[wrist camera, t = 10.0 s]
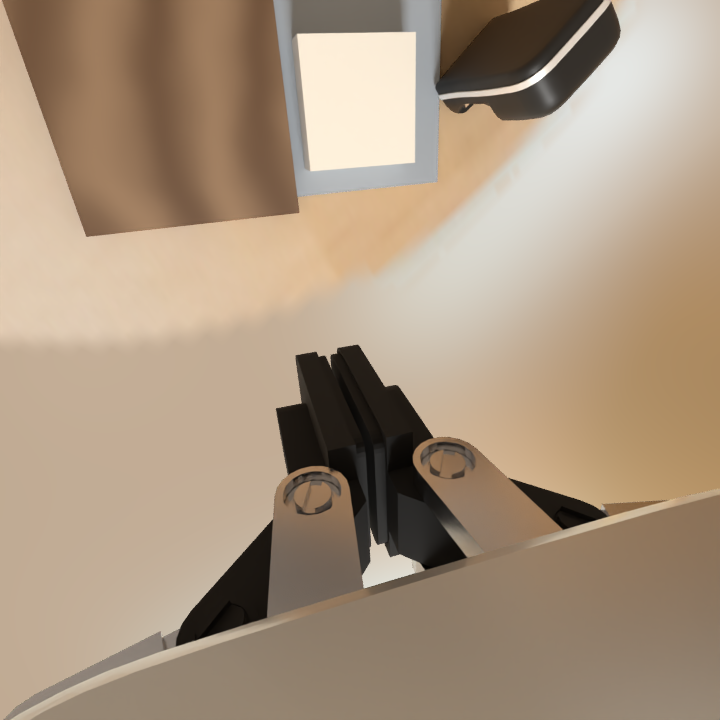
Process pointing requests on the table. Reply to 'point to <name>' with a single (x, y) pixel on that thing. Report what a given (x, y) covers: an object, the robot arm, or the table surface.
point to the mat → (421, 15)
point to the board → (161, 108)
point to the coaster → (356, 98)
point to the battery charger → (532, 58)
